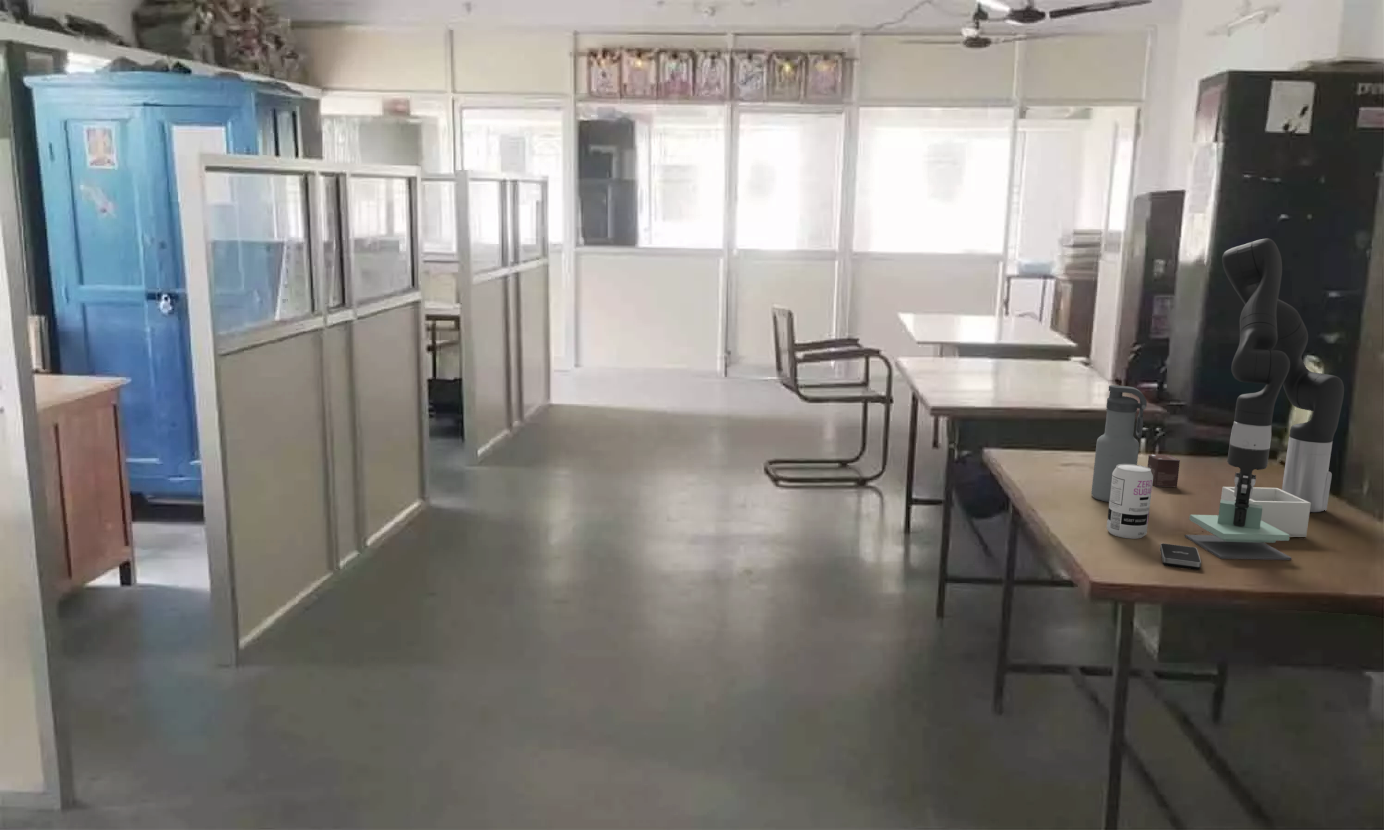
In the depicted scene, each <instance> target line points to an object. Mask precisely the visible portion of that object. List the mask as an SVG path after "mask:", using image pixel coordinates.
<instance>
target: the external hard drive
mask: <svg viewBox="0 0 1384 830" xmlns="http://www.w3.org/2000/svg"><path fill="white" fill-rule="evenodd" d="M1159 553H1160V556H1161V557H1160V558H1161V561H1162V562H1161V563H1162V565H1163V566H1164V567H1169V568H1178V569H1186V570H1193V571H1200V570H1201V567H1202V566H1201V565H1202V561H1201V557H1200V554H1199V551H1198V548H1197V547H1195V546H1188V545H1181V544H1179V545H1177V544H1172V543H1162V542H1161V543H1160V547H1159Z"/></svg>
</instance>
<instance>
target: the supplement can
mask: <svg viewBox="0 0 1384 830" xmlns="http://www.w3.org/2000/svg"><path fill="white" fill-rule="evenodd" d="M1152 483H1153V475H1152V473H1151V469H1150V468H1148V466H1144V465H1140V464H1137V465H1134V464H1119V465H1117V466H1116V468H1115V470H1114V471H1113V473H1112V483H1111V492H1110V501H1109V502H1108V513H1107V520H1106V530H1107V531H1108V532H1109V534H1111V535H1113V536H1114V537H1115V536H1116V537H1119V538H1123V539H1134V540H1135V539H1136V540H1137V539H1141V538H1143V537H1144V536H1146V535H1147V533H1148V524H1149V516H1150V508H1151V499H1152V492H1153V491H1152V489H1153V485H1152Z"/></svg>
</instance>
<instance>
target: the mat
mask: <svg viewBox="0 0 1384 830" xmlns="http://www.w3.org/2000/svg"><path fill="white" fill-rule="evenodd" d="M1184 538H1186V539H1187V540H1189V541H1191V542H1193V543H1194V544H1196V545H1197V546H1199V547H1201V548H1202V549H1204V550H1206V551H1207V552H1208V553H1211V554H1212V555H1214V556H1215V557H1217V558H1218V559H1220V560H1267V561H1268V560H1269V561H1270V560H1274V561H1278V560H1279V561H1280V560H1281V561H1282V560H1283V561H1291V560H1292V559H1293V558H1292V557H1291V556H1290V555H1288V554H1286V553H1284V552H1282V551H1280V550H1278V549H1277V548H1275V547H1272V546H1271V545H1269V544H1267V542H1226V541H1224V540H1222V539H1221V538H1219V537H1217V536H1215V535H1214V534H1185V535H1184Z"/></svg>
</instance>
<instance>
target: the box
mask: <svg viewBox="0 0 1384 830" xmlns="http://www.w3.org/2000/svg"><path fill="white" fill-rule="evenodd" d="M1180 462H1181V460H1180V459H1178V458H1176V457H1174V456H1172V455H1171V454H1148V459H1147V467H1148V468H1150V469H1151V473H1152V475H1153V483H1152V486H1153V487H1163V488H1164V487H1166V488H1168V487H1169V488H1176V487H1178V481H1179V473H1180V464H1181V463H1180Z"/></svg>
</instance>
